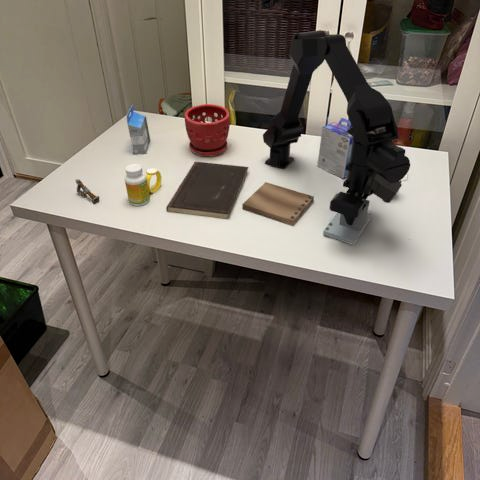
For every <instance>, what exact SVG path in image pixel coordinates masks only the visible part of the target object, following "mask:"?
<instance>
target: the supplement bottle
mask: <svg viewBox="0 0 480 480" xmlns="http://www.w3.org/2000/svg"><path fill="white" fill-rule="evenodd" d="M125 173H126V174H125V176H124V185H125V188H126V194H127V199H128V202H129V204H130V205H132V206H135V207H139V206H140V207H141V206H144V205H146V204H148V203H149V202H150V198H151V196H150V192H149V189H148V183H147V177H146V175H147V174H146V173H145V172H144V171H143V166H142V164H139V163H132V164H131V163H130V164H128V165H126V166H125Z"/></svg>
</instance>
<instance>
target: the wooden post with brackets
mask: <svg viewBox="0 0 480 480" xmlns="http://www.w3.org/2000/svg"><path fill="white" fill-rule="evenodd" d="M75 184H76V193H80V196H82V197H83V198H87V196H88V197H89V198H90V199H91V200H92V204H94V203H96V202H98V201H100V196H99V195H95V194H94V193H92V192H91V190H90V189H89V188H88V187H87V186H86V185H84V183H83V182H82V180H80V179H75Z"/></svg>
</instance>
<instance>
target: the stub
mask: <svg viewBox="0 0 480 480" xmlns="http://www.w3.org/2000/svg"><path fill="white" fill-rule="evenodd" d="M363 201H364V204H366V206H365V207H364V209H363V210H362V211H361V213H360V214H359V215H358V217H356V218H355V219H354V222H353V224H352V225H348V224H347V223H346V220H345V218H344V215H343V214H340V213H337V212H335V215H334V216H333V218H331V220H330V221H329V223H328V224H327V226H326V227H325V228H324V229H323V232H322V235H324V236H327V237H329V238H332V239H336V240H339V241H341V242H343V243H347V244H351V245H355V244H356V242H357V240H358V239H359V237H360V236H361V234H362V233H363V232H364V229H365V228H366V226H367V225H368V223H369V222H370V221H371V218H372V215H373V213H371V212H369V211H368V210H369V206H370V200H369V199H364V200H363Z"/></svg>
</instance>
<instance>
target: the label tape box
mask: <svg viewBox="0 0 480 480" xmlns="http://www.w3.org/2000/svg"><path fill="white" fill-rule="evenodd" d="M126 125H127V127H128V133H129V137H130V142H131V146H132V152H133V155H145V154H147V152H148V149H149V145H150V142H151V138H150V137H151V136H150V131H149V126H148V121H147V116H146V115H143V114H141V113H138V112H135V111H134V104H132V105H131V107H130V108H129V110H128V112H127V113H126Z"/></svg>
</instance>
